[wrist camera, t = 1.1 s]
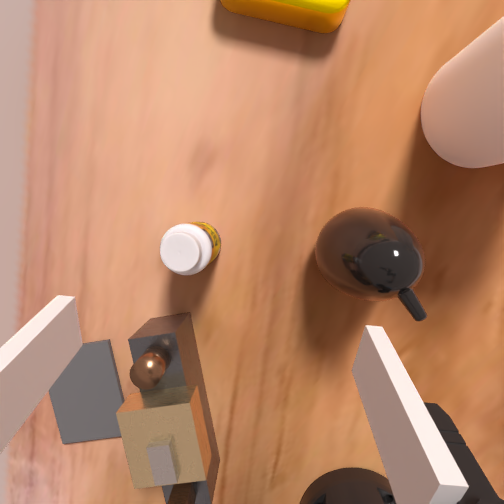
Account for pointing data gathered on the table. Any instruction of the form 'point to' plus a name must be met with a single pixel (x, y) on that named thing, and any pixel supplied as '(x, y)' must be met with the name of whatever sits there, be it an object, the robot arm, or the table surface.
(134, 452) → the lever cap
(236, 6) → the element tile
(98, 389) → the rubber mat
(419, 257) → the pump dispenser
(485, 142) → the canister
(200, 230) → the supplement bottle
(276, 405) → the table surface
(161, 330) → the plane body
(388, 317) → the table surface
